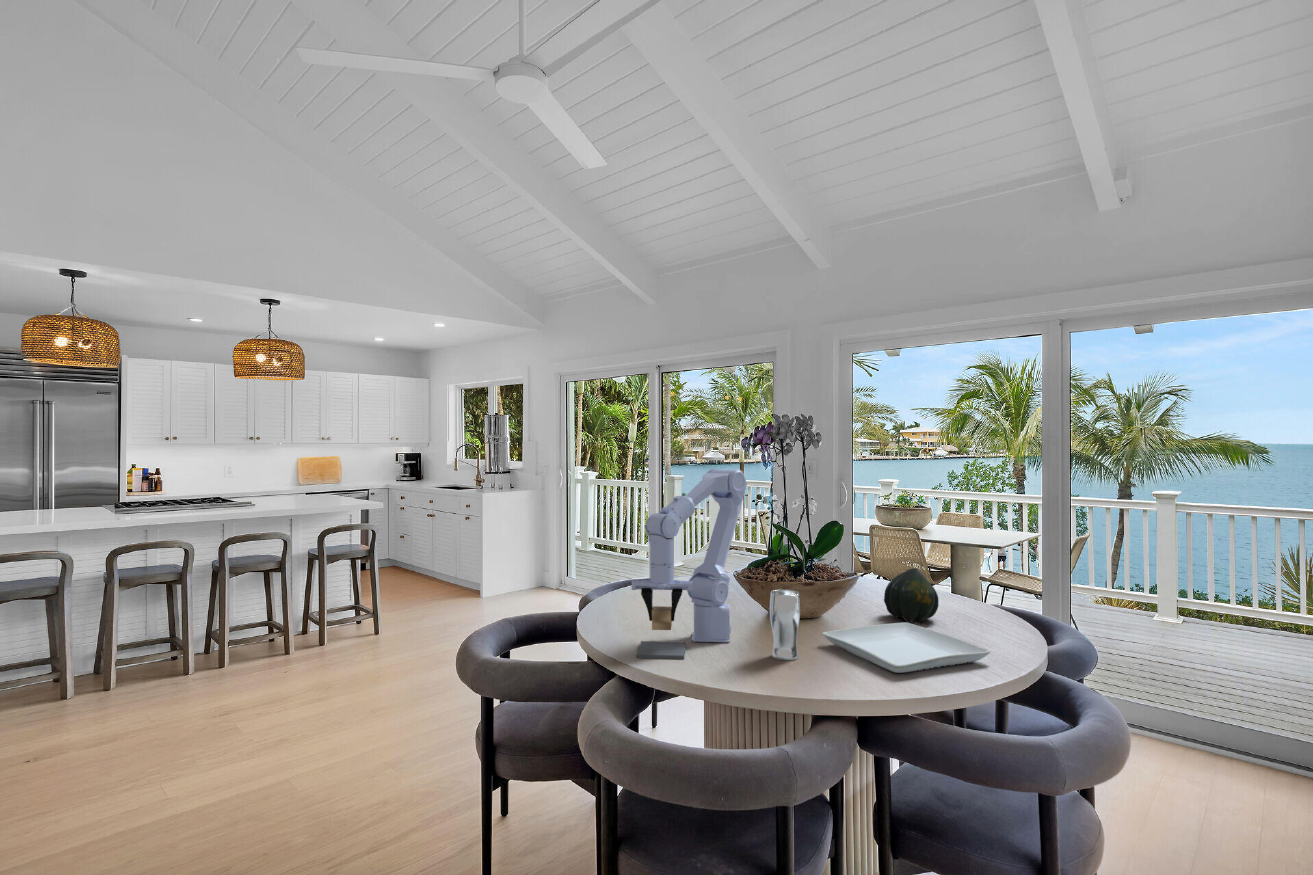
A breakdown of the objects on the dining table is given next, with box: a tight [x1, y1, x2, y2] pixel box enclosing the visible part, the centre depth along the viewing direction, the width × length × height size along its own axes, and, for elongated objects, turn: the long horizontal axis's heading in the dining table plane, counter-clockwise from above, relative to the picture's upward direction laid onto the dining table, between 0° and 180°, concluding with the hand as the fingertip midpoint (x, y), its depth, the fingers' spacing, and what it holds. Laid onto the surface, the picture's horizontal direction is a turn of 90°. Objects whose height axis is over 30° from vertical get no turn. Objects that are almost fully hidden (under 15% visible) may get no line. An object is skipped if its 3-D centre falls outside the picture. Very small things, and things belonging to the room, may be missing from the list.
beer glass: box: [769, 589, 801, 662], centre depth 156 cm, size 7×7×15 cm
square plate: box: [822, 622, 991, 674], centre depth 157 cm, size 27×27×4 cm
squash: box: [883, 567, 939, 623], centre depth 190 cm, size 14×15×15 cm
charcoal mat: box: [636, 640, 686, 660], centre depth 160 cm, size 11×11×1 cm
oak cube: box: [651, 605, 673, 631], centre depth 160 cm, size 4×4×4 cm
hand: (661, 619), depth 160 cm, fingers closed on oak cube, 4 cm apart
